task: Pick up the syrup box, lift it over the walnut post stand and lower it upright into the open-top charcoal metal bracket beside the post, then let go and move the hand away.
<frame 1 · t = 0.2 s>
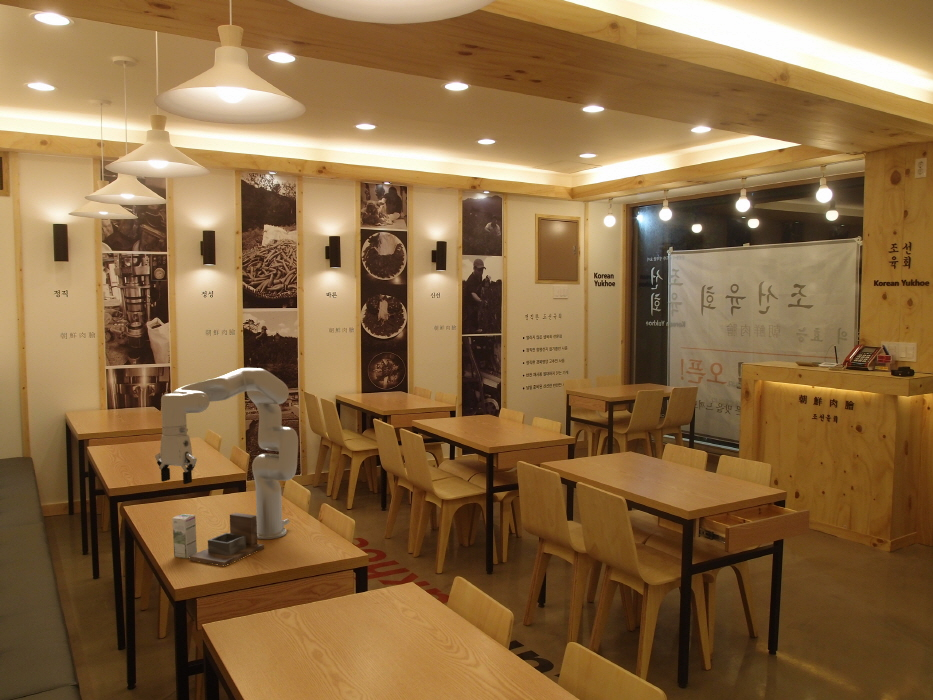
hand: (176, 481, 243), 31 cm above the table, tool pointing down, fingers open, 9 cm apart
post bracket stand: (227, 554, 262), on the table
syrup box: (185, 556, 261), on the table
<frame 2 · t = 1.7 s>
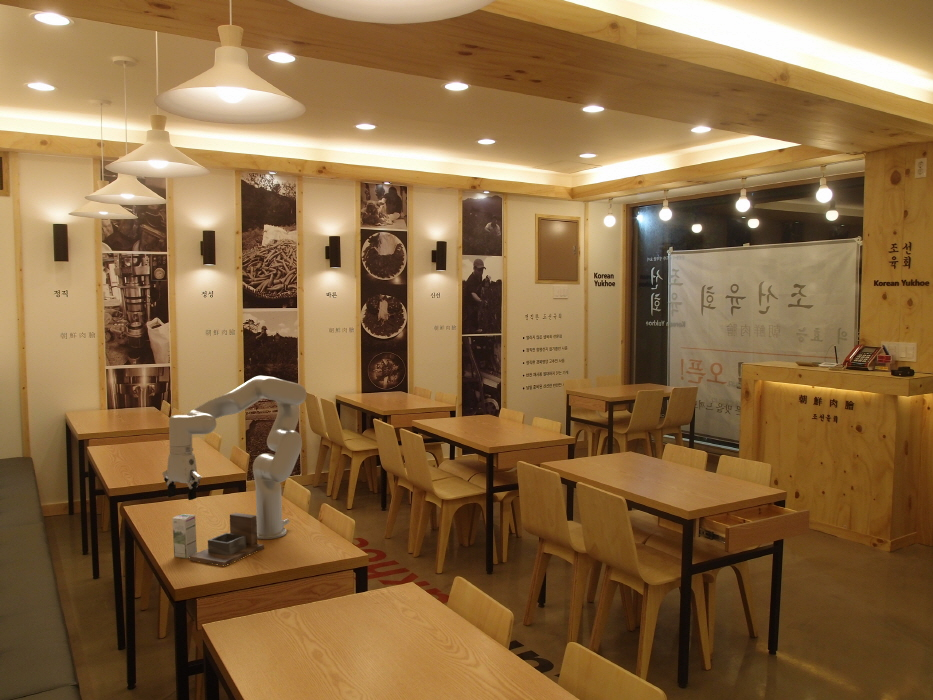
hand: (182, 497, 260), 21 cm above the table, tool pointing down, fingers open, 9 cm apart
nothing on the table moved.
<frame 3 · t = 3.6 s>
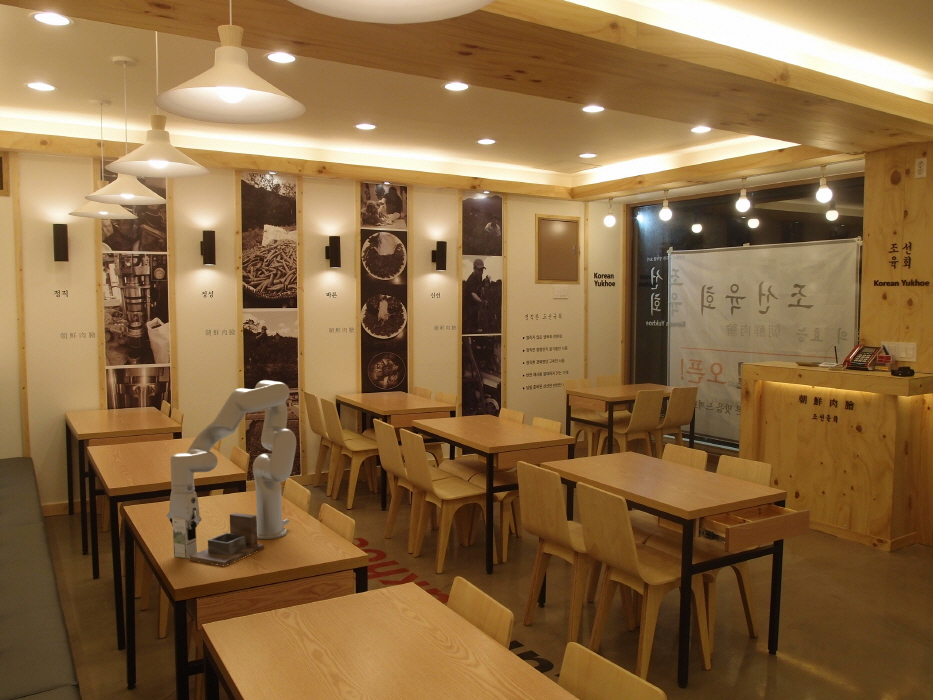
hand: (184, 537, 261), 7 cm above the table, tool pointing down, fingers closed on syrup box, 6 cm apart
syrup box: (185, 556, 261), on the table, touching gripper
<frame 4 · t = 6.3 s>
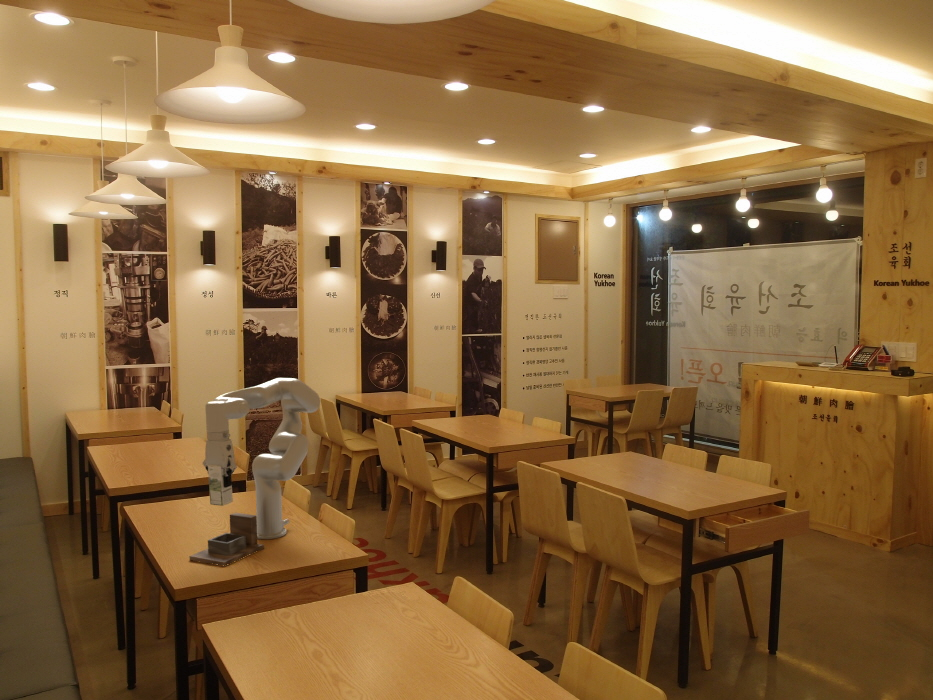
hand: (220, 485, 261), 25 cm above the table, tool pointing down, fingers closed on syrup box, 6 cm apart
syrup box: (221, 503, 261), point 18 cm above the table, touching gripper
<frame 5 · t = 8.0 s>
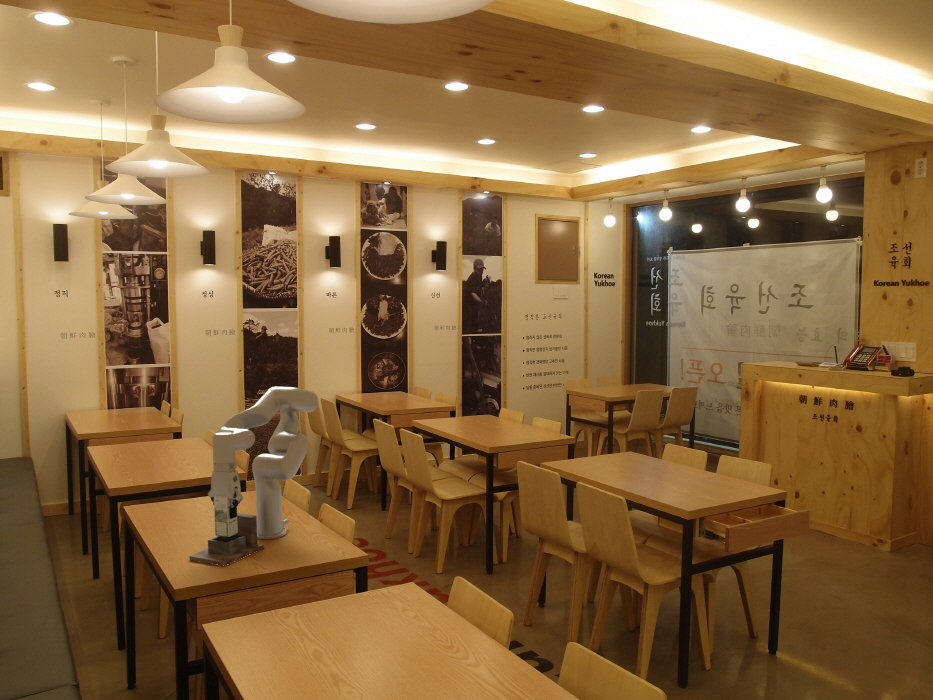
hand: (226, 516, 261), 14 cm above the table, tool pointing down, fingers closed on syrup box, 6 cm apart
syrup box: (226, 535, 262), point 7 cm above the table, touching gripper
when the fingers open (9 cm above the table, at t = 9.3 s): syrup box drops 1 cm, resting on post bracket stand.
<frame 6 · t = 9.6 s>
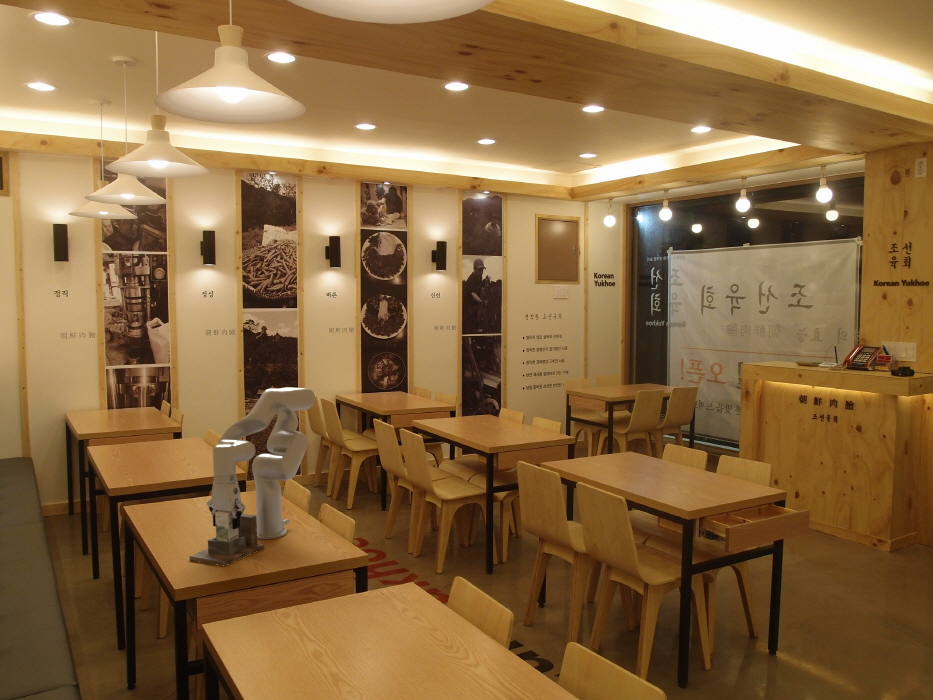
hand: (226, 526, 262), 10 cm above the table, tool pointing down, fingers open, 8 cm apart
syrup box: (228, 550, 262), point 1 cm above the table, touching post bracket stand
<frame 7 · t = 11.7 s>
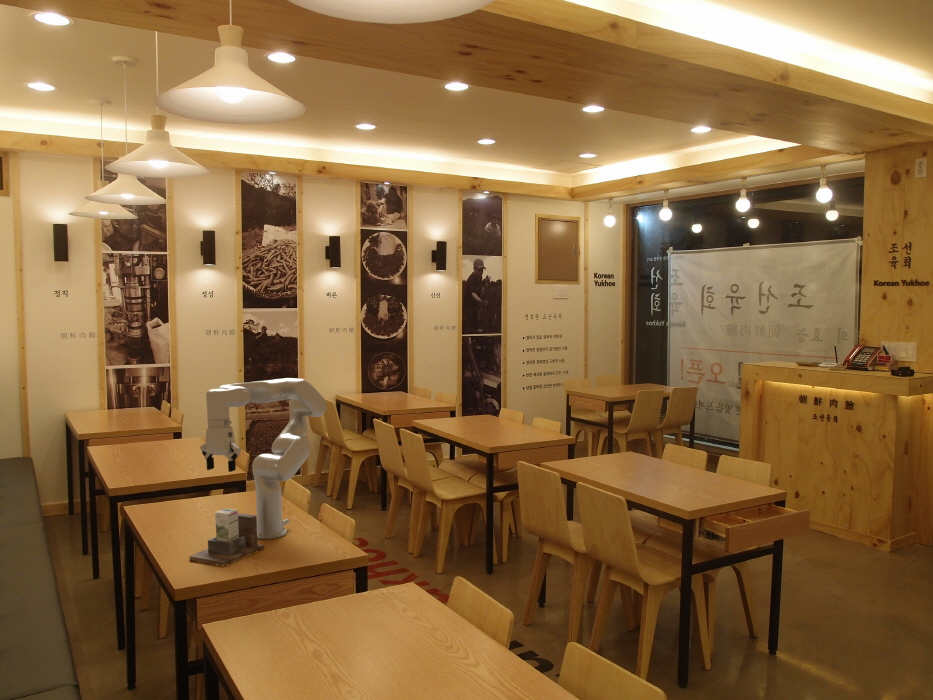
hand: (221, 470, 264), 30 cm above the table, tool pointing down, fingers open, 9 cm apart
nothing on the table moved.
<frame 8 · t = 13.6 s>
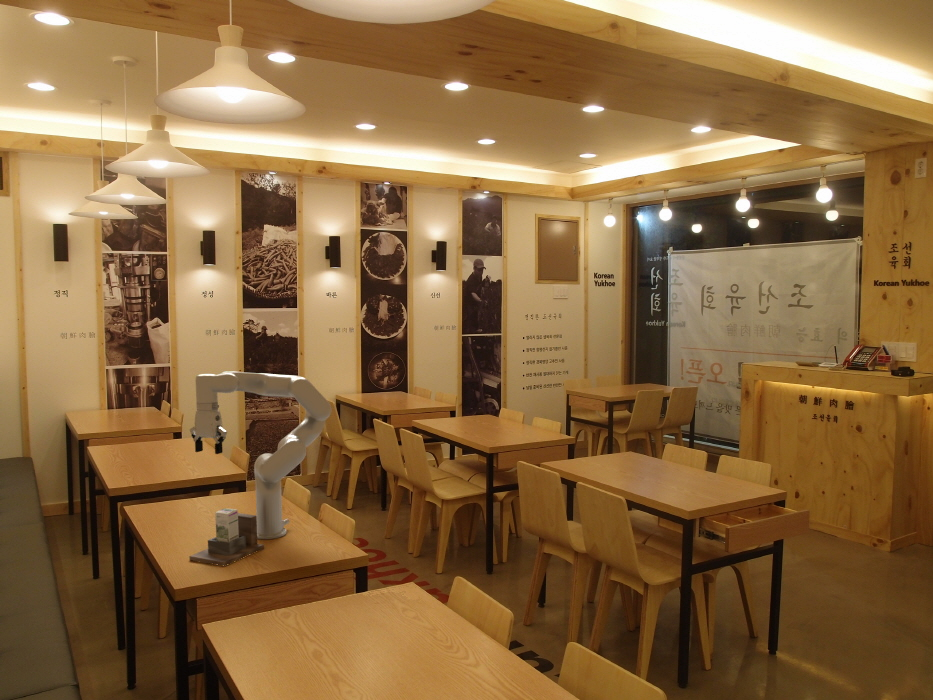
hand: (208, 452, 274), 34 cm above the table, tool pointing down, fingers open, 9 cm apart
nothing on the table moved.
at the end: syrup box 0.2 cm off-centre on the post bracket stand, point 1.3 cm above the post bracket stand's base; syrup box tilted 0°; the gripper is holding nothing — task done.
